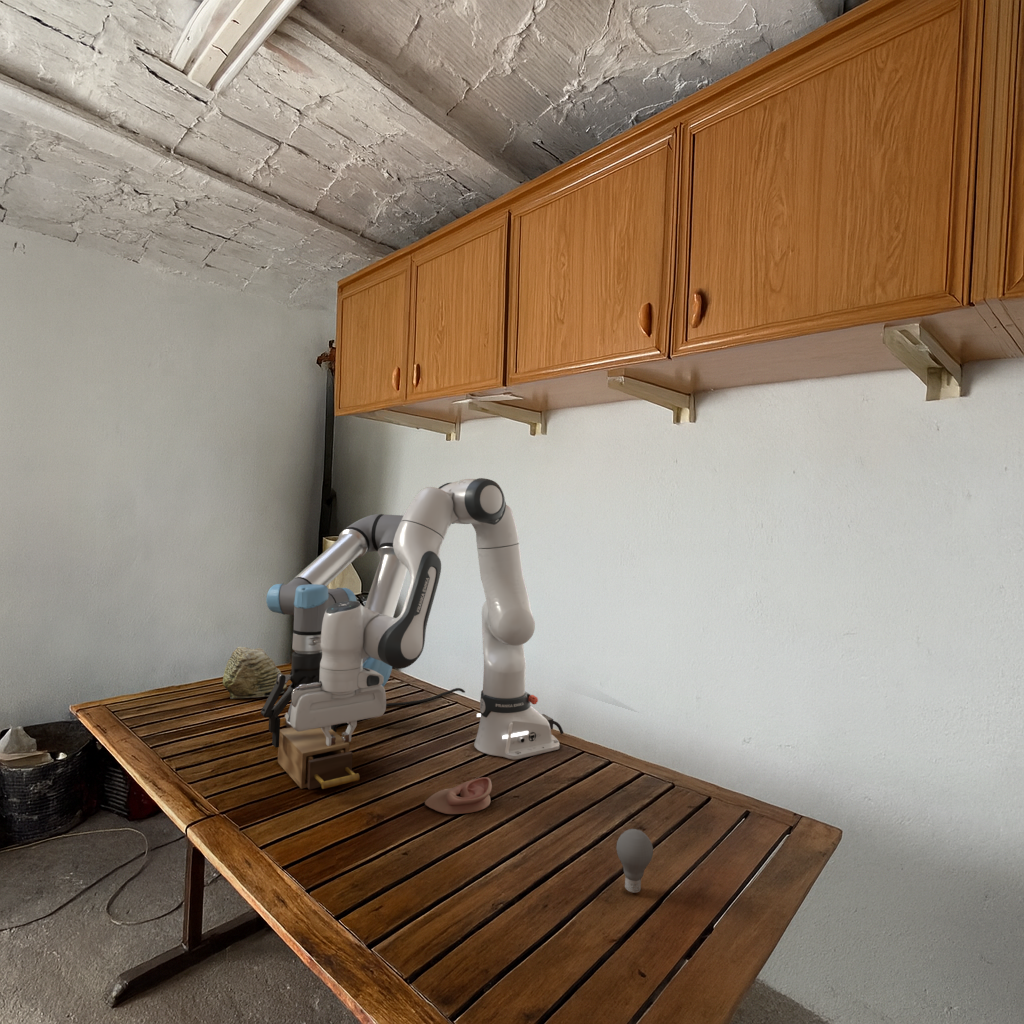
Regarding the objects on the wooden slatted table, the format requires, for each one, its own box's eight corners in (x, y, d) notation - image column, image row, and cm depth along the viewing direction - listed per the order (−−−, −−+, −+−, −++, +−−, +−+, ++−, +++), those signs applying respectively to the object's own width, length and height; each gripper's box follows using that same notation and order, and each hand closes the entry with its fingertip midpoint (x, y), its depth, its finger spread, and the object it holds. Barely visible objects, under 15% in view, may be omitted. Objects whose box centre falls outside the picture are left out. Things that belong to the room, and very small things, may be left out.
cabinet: (348, 777, 143) (349, 743, 143) (301, 789, 137) (302, 753, 137) (321, 752, 156) (322, 721, 156) (277, 762, 150) (278, 729, 150)
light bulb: (610, 879, 108) (613, 822, 108) (644, 879, 109) (647, 822, 109) (619, 902, 102) (622, 840, 102) (655, 901, 103) (658, 840, 103)
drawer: (362, 789, 136) (363, 762, 136) (319, 800, 130) (320, 772, 130) (326, 755, 152) (327, 731, 152) (286, 764, 147) (287, 739, 146)
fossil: (218, 695, 195) (220, 647, 195) (278, 685, 208) (279, 640, 207) (228, 703, 189) (230, 653, 188) (289, 692, 201) (290, 645, 201)
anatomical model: (420, 791, 129) (438, 768, 141) (419, 810, 129) (437, 786, 141) (483, 800, 127) (496, 776, 138) (482, 819, 127) (495, 794, 138)
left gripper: (259, 659, 139) (254, 755, 139) (364, 648, 154) (360, 735, 154) (249, 652, 145) (245, 744, 145) (352, 642, 160) (348, 726, 160)
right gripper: (297, 689, 126) (294, 758, 126) (390, 675, 138) (388, 738, 139) (286, 681, 131) (284, 748, 131) (377, 668, 143) (375, 729, 144)
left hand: (304, 740), depth 150 cm, fingers open, 13 cm apart
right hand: (338, 743), depth 135 cm, fingers closed
